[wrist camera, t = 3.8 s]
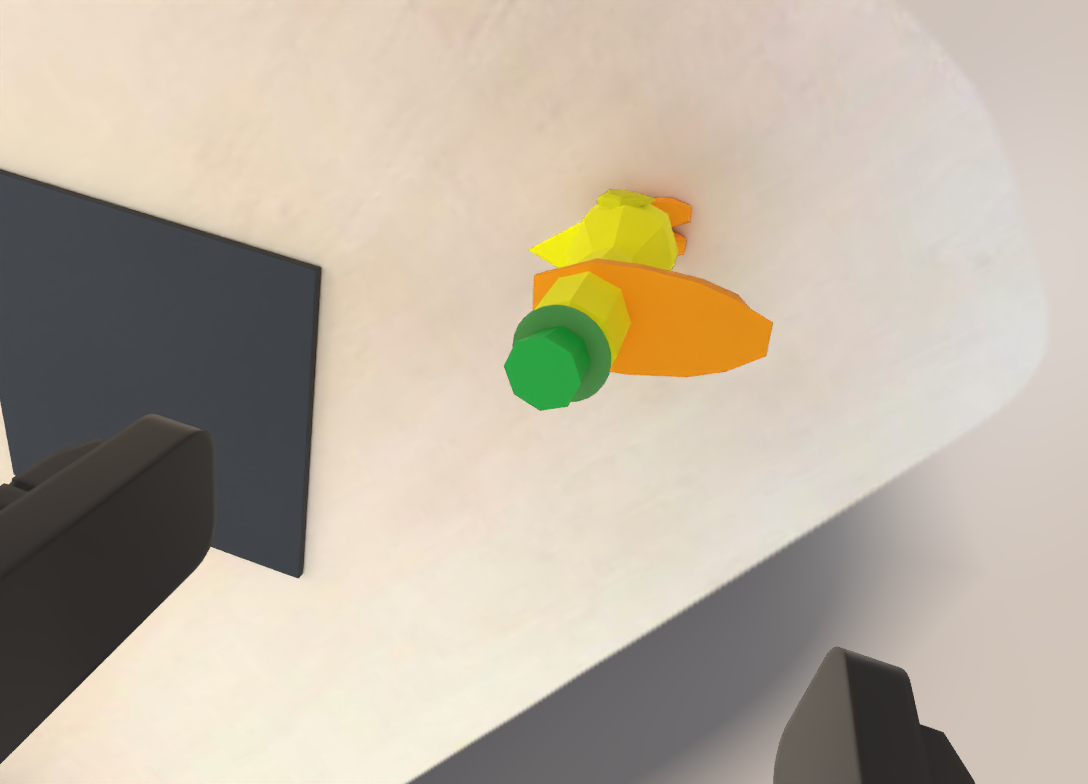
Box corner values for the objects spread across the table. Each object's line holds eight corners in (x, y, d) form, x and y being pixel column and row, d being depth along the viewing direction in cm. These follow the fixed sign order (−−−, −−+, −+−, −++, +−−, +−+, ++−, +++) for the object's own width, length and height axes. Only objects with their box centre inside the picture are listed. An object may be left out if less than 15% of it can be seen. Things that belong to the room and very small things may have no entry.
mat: (321, 267, 29) (315, 270, 28) (302, 573, 37) (298, 579, 36) (-36, 158, 31) (-45, 160, 30) (20, 470, 39) (13, 474, 38)
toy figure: (779, 182, 23) (789, 325, 13) (758, 292, 25) (752, 497, 14) (566, 161, 25) (420, 274, 14) (559, 266, 26) (424, 436, 16)
